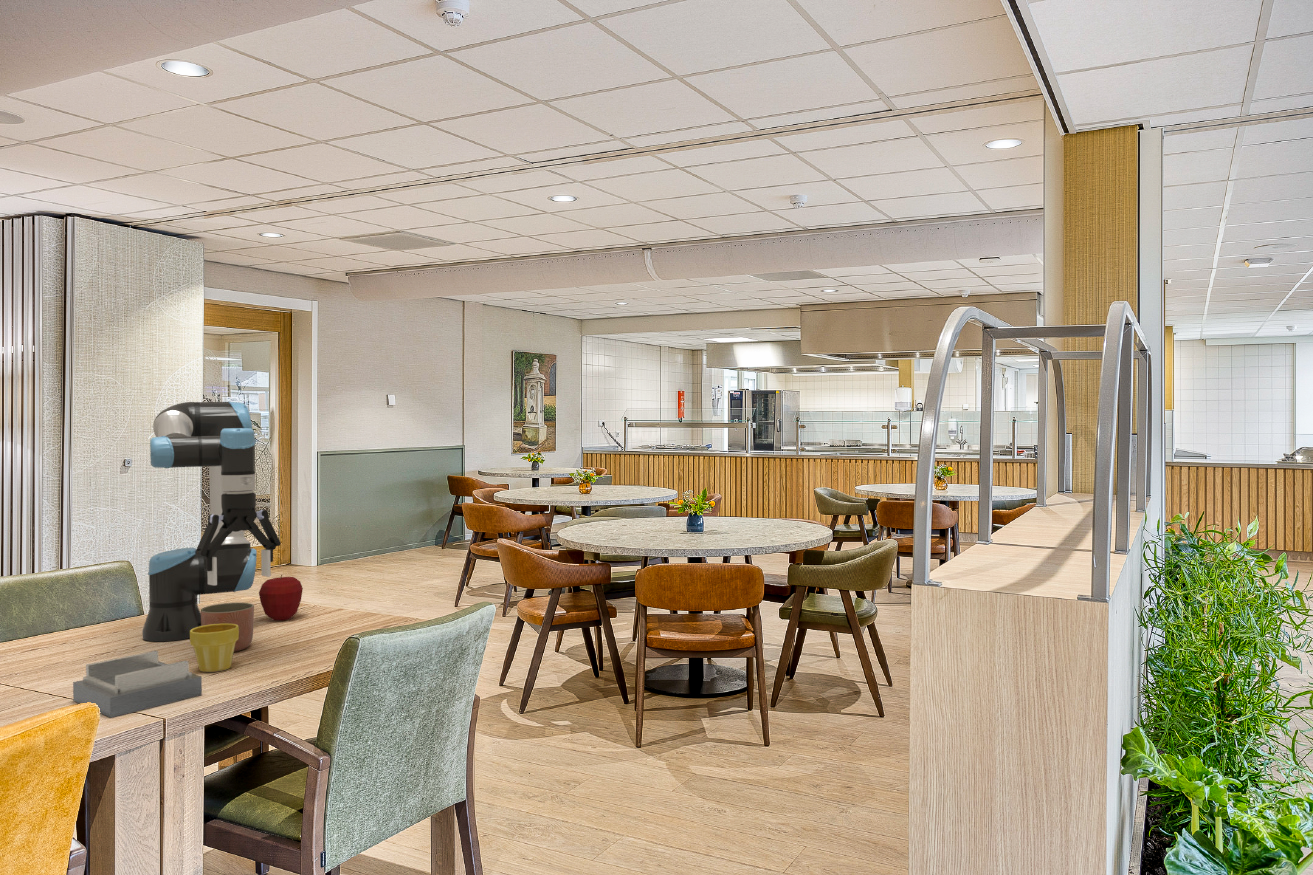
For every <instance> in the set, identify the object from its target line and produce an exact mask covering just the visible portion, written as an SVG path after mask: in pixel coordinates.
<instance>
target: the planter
mask: <svg viewBox="0 0 1313 875" xmlns="http://www.w3.org/2000/svg"><path fill="white" fill-rule="evenodd" d="M200 613H201V626H204V625H211V624H225V623H227V624H236V625H238V627H239V638H238V640H237V641H236V643H235V648H234V652H233V653H235V652H240V651H243V650H245V649H247V648H248V647H249V646H250V645H251V644H252V642H253V637H254V624H255V623H254V622H255V621H254V620H255V618H254V617H255V605H254V604H253V603H251V602H226V603H225V602H223V603H218V604H212V605H207V606H204V607H202V608H201V609H200Z"/></svg>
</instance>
